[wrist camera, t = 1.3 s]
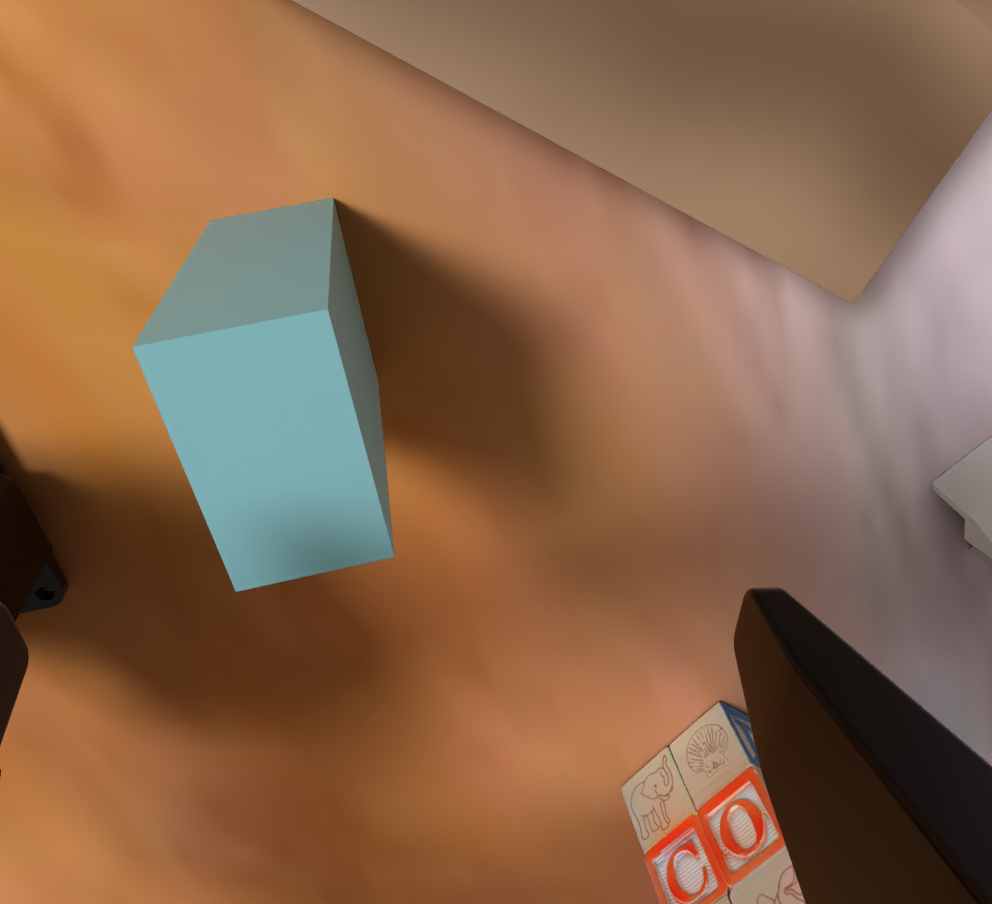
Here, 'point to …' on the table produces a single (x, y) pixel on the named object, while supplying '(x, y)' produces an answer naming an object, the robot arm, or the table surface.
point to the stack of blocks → (711, 818)
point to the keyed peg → (273, 395)
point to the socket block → (727, 103)
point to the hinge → (971, 496)
